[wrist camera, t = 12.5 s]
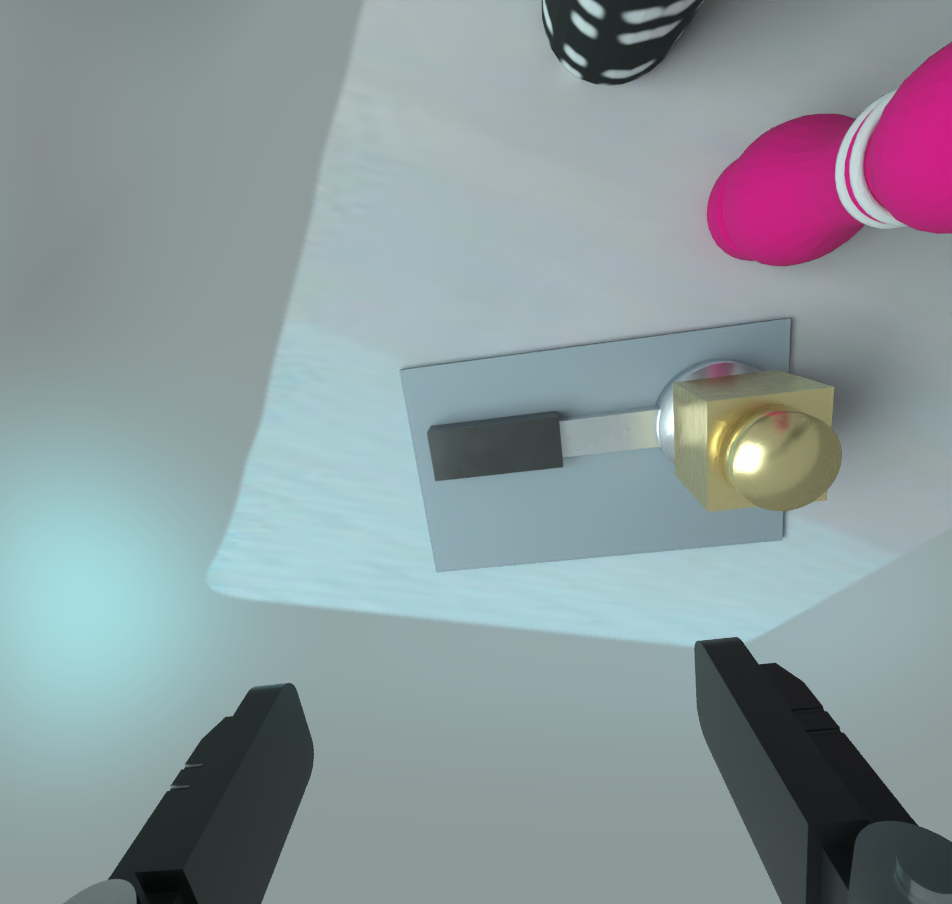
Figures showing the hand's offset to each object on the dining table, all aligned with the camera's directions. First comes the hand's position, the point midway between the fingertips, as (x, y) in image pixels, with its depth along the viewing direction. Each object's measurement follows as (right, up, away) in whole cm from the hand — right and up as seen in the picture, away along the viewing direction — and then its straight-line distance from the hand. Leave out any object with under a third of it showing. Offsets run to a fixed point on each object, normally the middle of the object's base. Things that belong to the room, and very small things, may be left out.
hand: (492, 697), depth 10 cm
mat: (+8, +5, +27) cm, 29 cm away
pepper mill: (+17, +20, +22) cm, 34 cm away
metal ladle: (+8, +6, +26) cm, 28 cm away
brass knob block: (+16, +7, +23) cm, 29 cm away
